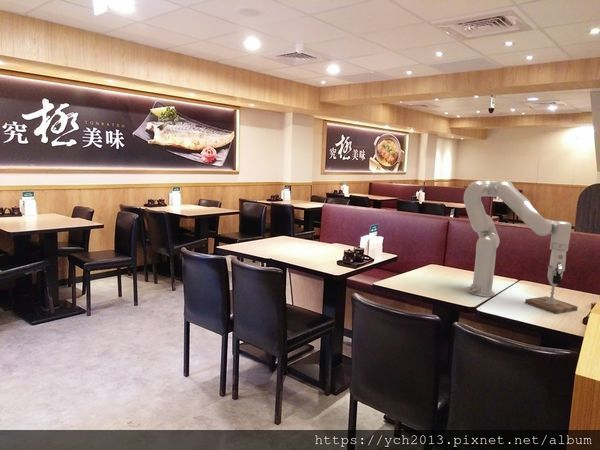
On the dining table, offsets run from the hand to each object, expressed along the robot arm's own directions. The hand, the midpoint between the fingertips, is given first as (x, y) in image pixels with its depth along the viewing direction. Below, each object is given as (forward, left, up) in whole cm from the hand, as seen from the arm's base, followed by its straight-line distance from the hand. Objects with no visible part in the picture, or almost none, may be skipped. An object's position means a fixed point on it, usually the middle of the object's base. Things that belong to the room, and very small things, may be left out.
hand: (554, 281), depth 208 cm
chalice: (0, 0, -11) cm, 11 cm away
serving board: (0, 0, -13) cm, 13 cm away
